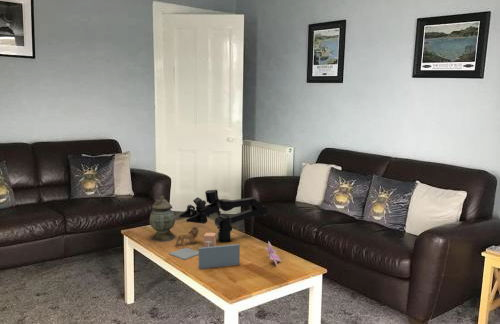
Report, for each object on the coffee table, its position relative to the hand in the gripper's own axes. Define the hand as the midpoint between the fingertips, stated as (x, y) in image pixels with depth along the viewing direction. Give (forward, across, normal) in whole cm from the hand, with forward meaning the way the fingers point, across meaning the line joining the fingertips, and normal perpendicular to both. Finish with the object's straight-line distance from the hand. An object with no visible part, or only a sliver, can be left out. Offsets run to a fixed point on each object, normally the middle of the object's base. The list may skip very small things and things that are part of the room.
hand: (182, 218), depth 245 cm
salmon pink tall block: (-1, +25, +16) cm, 30 cm away
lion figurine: (-2, -5, +17) cm, 18 cm away
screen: (-2, +33, +16) cm, 37 cm away
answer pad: (+6, +10, +16) cm, 19 cm away
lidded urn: (+6, -21, +16) cm, 27 cm away
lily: (-26, +43, +21) cm, 54 cm away
